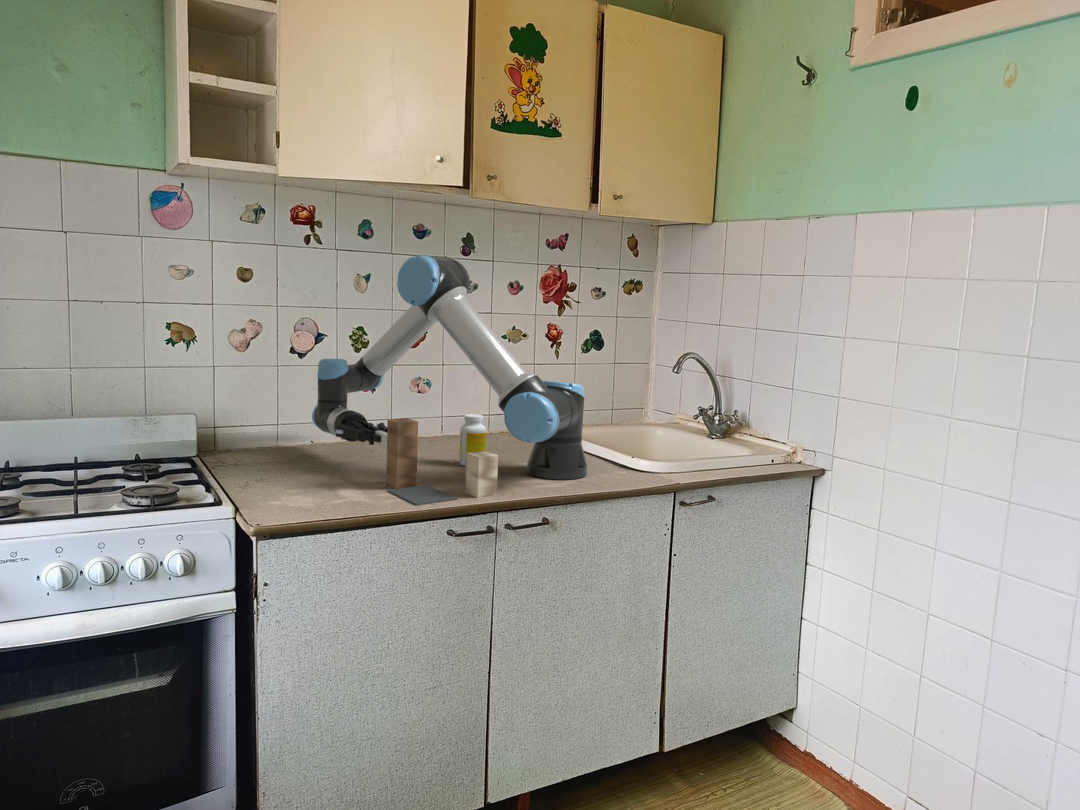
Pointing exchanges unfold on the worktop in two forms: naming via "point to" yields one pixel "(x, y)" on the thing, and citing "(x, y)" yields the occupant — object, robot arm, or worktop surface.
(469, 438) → the supplement bottle
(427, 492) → the mat
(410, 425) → the walnut block
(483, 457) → the birch block
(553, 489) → the worktop surface
